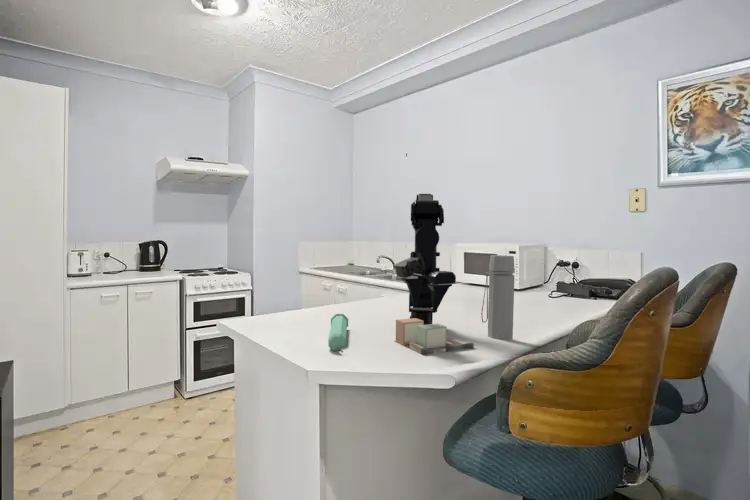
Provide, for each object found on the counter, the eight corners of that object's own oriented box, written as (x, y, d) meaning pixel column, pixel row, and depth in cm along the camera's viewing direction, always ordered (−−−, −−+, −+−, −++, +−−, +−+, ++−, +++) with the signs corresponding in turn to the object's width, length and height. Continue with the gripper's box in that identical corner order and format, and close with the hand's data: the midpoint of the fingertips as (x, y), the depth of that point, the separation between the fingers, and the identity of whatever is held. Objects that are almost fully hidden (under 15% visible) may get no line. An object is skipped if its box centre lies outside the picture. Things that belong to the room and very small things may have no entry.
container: (343, 329, 109) (344, 310, 134) (322, 338, 109) (327, 317, 134) (351, 350, 110) (351, 327, 135) (330, 358, 110) (334, 334, 135)
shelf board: (441, 339, 124) (441, 330, 124) (473, 352, 111) (474, 342, 111) (393, 345, 117) (394, 335, 117) (422, 359, 104) (423, 349, 104)
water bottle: (514, 338, 126) (516, 255, 125) (511, 345, 119) (513, 256, 118) (483, 335, 130) (485, 254, 129) (478, 341, 123) (480, 255, 122)
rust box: (395, 341, 116) (396, 319, 116) (415, 339, 119) (415, 318, 119) (403, 345, 113) (403, 322, 113) (423, 342, 116) (424, 320, 115)
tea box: (416, 348, 110) (416, 325, 110) (437, 345, 113) (437, 323, 113) (425, 352, 106) (425, 328, 106) (446, 349, 109) (446, 326, 109)
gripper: (381, 246, 115) (380, 303, 116) (419, 250, 98) (418, 316, 99) (415, 246, 120) (414, 300, 121) (457, 249, 104) (456, 312, 104)
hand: (424, 307), depth 111 cm, fingers open, 9 cm apart
